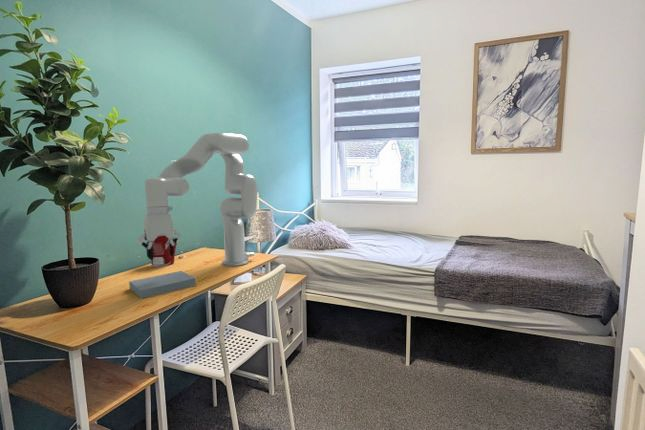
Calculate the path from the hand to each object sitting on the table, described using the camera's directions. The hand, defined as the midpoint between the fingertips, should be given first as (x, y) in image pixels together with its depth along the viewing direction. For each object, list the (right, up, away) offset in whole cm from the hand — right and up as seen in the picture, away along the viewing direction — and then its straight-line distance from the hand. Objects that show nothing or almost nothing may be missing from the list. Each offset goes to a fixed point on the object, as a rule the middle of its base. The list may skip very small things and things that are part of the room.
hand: (160, 256), depth 138 cm
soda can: (0, -3, 0) cm, 4 cm away
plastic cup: (-13, -8, +36) cm, 39 cm away
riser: (0, -12, +2) cm, 12 cm away
